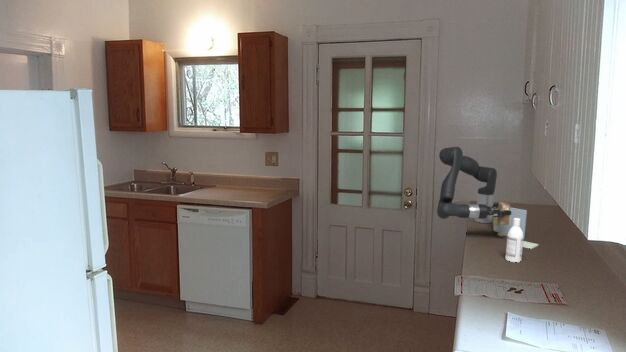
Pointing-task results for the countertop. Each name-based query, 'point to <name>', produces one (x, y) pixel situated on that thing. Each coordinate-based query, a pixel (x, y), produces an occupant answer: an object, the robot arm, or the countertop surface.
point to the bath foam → (514, 242)
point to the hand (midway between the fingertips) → (509, 211)
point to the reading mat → (529, 245)
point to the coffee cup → (495, 219)
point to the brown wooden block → (504, 219)
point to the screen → (515, 213)
